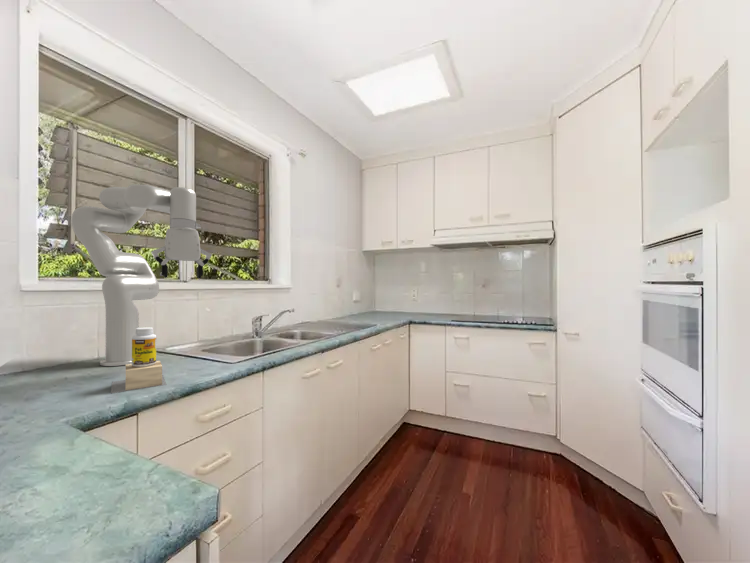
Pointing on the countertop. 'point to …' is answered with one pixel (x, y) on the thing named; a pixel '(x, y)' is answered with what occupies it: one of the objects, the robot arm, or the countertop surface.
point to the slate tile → (121, 387)
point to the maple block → (143, 376)
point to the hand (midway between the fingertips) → (182, 278)
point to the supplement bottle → (144, 347)
